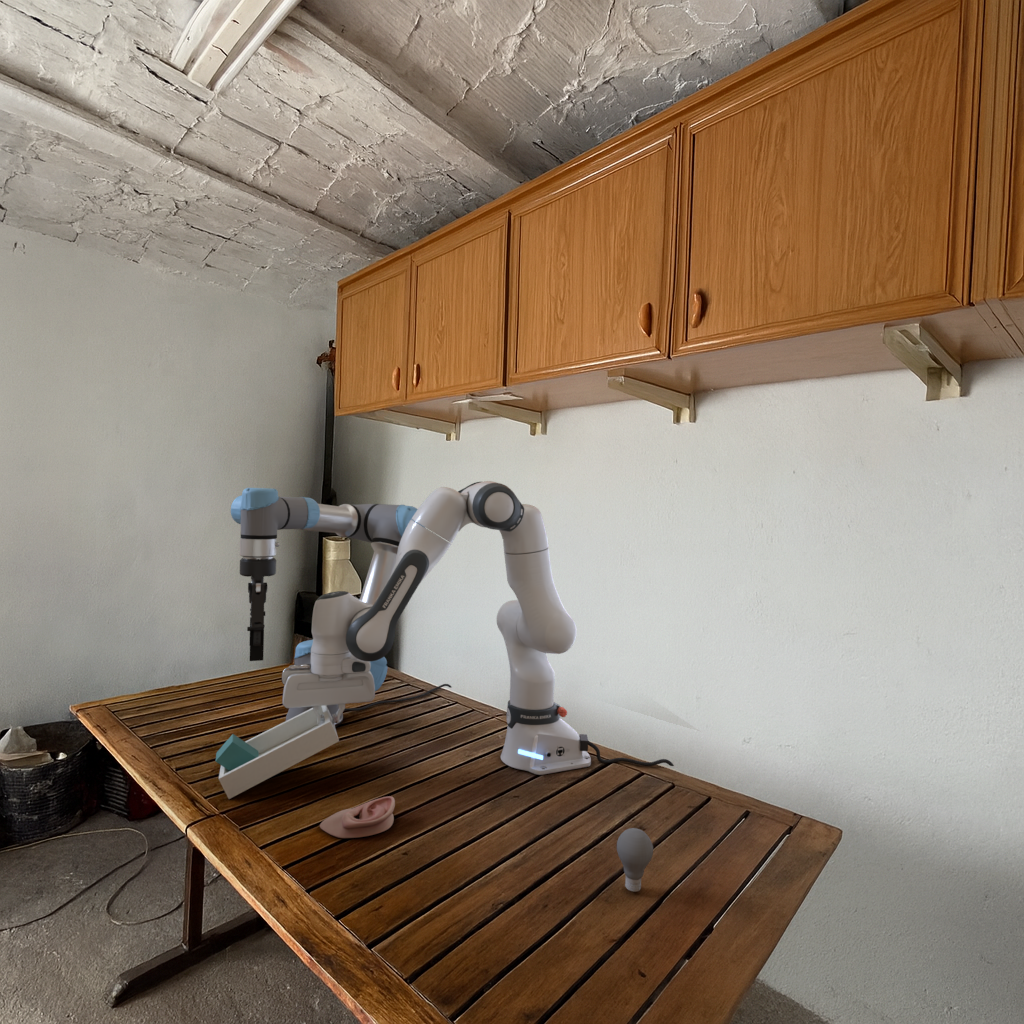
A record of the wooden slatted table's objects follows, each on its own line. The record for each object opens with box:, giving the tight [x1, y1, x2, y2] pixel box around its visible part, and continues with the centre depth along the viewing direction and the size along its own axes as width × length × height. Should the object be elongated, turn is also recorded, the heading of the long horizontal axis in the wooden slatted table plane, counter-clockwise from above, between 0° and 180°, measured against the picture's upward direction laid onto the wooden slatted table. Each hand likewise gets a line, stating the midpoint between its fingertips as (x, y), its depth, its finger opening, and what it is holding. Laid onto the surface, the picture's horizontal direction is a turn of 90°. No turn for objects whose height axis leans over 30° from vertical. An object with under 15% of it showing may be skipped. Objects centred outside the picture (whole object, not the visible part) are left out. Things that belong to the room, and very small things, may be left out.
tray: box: [218, 705, 340, 800], centre depth 141 cm, size 24×14×5 cm, turn 111°
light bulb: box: [616, 827, 654, 893], centre depth 106 cm, size 6×6×10 cm
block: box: [215, 733, 259, 771], centre depth 137 cm, size 5×5×7 cm
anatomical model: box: [319, 795, 396, 839], centre depth 123 cm, size 13×4×12 cm
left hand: (256, 652), depth 141 cm, fingers open, 13 cm apart
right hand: (328, 723), depth 144 cm, fingers closed on tray
